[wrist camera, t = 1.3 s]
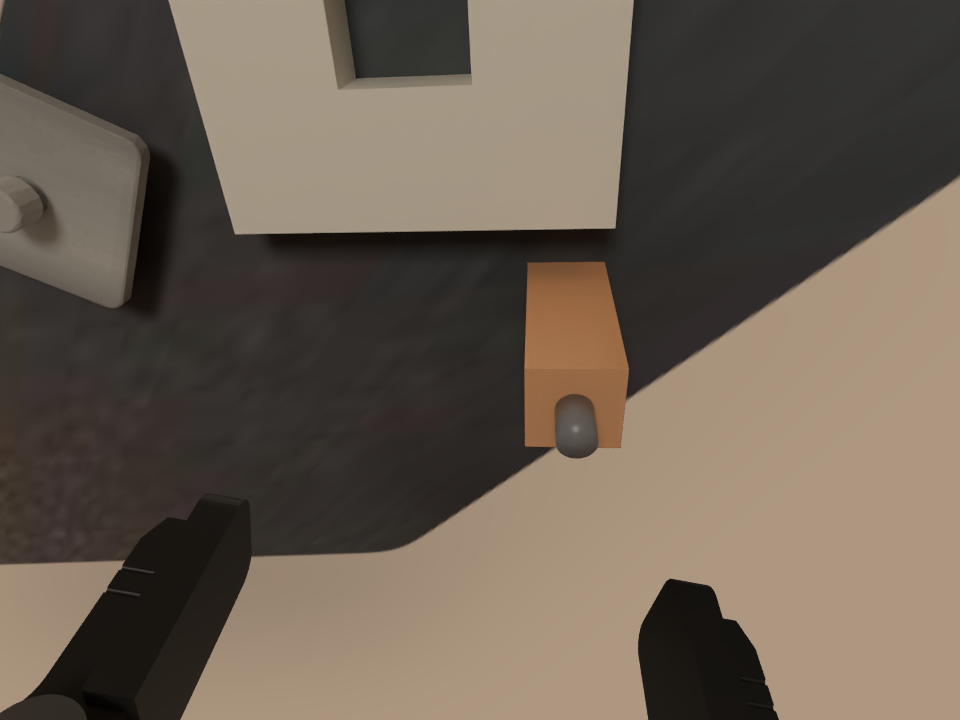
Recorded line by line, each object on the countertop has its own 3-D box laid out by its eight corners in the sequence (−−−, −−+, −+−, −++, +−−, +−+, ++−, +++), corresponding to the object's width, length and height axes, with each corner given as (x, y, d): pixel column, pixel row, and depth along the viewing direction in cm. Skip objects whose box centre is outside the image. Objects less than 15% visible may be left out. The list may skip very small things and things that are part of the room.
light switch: (172, 131, 30) (112, 159, 25) (149, 291, 35) (95, 336, 31) (-39, 36, 28) (-141, 49, 24) (-30, 219, 33) (-113, 257, 29)
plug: (604, 261, 31) (636, 400, 21) (599, 328, 34) (626, 482, 24) (527, 262, 32) (523, 399, 22) (528, 328, 34) (524, 479, 24)
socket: (647, -325, 20) (667, -380, 17) (608, 206, 30) (617, 235, 27) (134, -275, 22) (65, -316, 18) (259, 212, 31) (228, 240, 28)
